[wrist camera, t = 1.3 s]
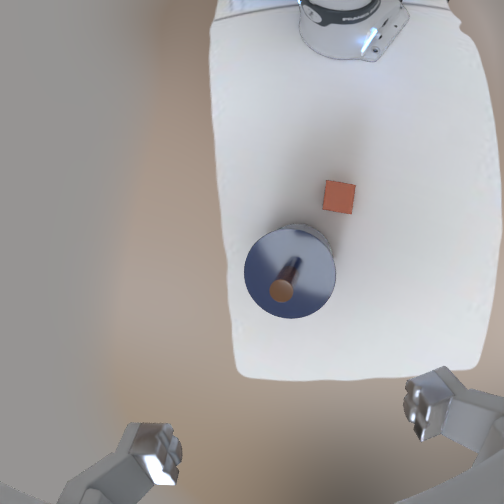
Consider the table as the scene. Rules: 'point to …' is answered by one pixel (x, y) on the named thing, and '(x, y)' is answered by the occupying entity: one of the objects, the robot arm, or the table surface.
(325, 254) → the lid
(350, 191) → the block
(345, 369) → the table surface
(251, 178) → the table surface
